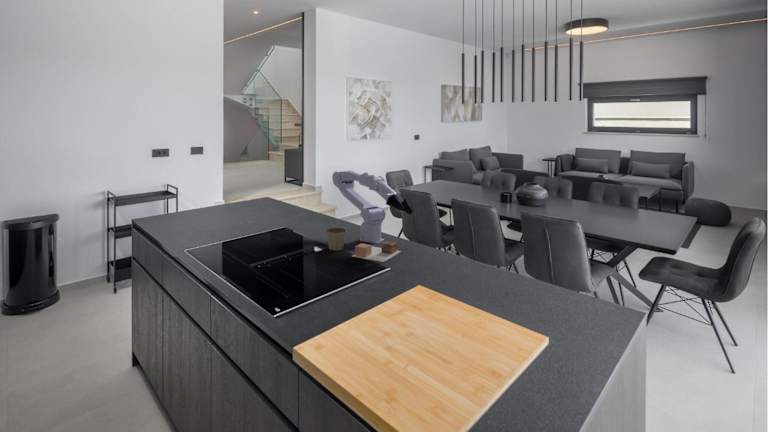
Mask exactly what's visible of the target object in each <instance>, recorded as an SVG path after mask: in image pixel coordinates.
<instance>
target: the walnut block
mask: <svg viewBox="0 0 768 432" xmlns="http://www.w3.org/2000/svg"><path fill="white" fill-rule="evenodd" d="M381 248H382V253H387V254H393V253H395V252H397V251H398V242H397V241H390V240H386V241H384V242H382V243H381Z"/></svg>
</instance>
